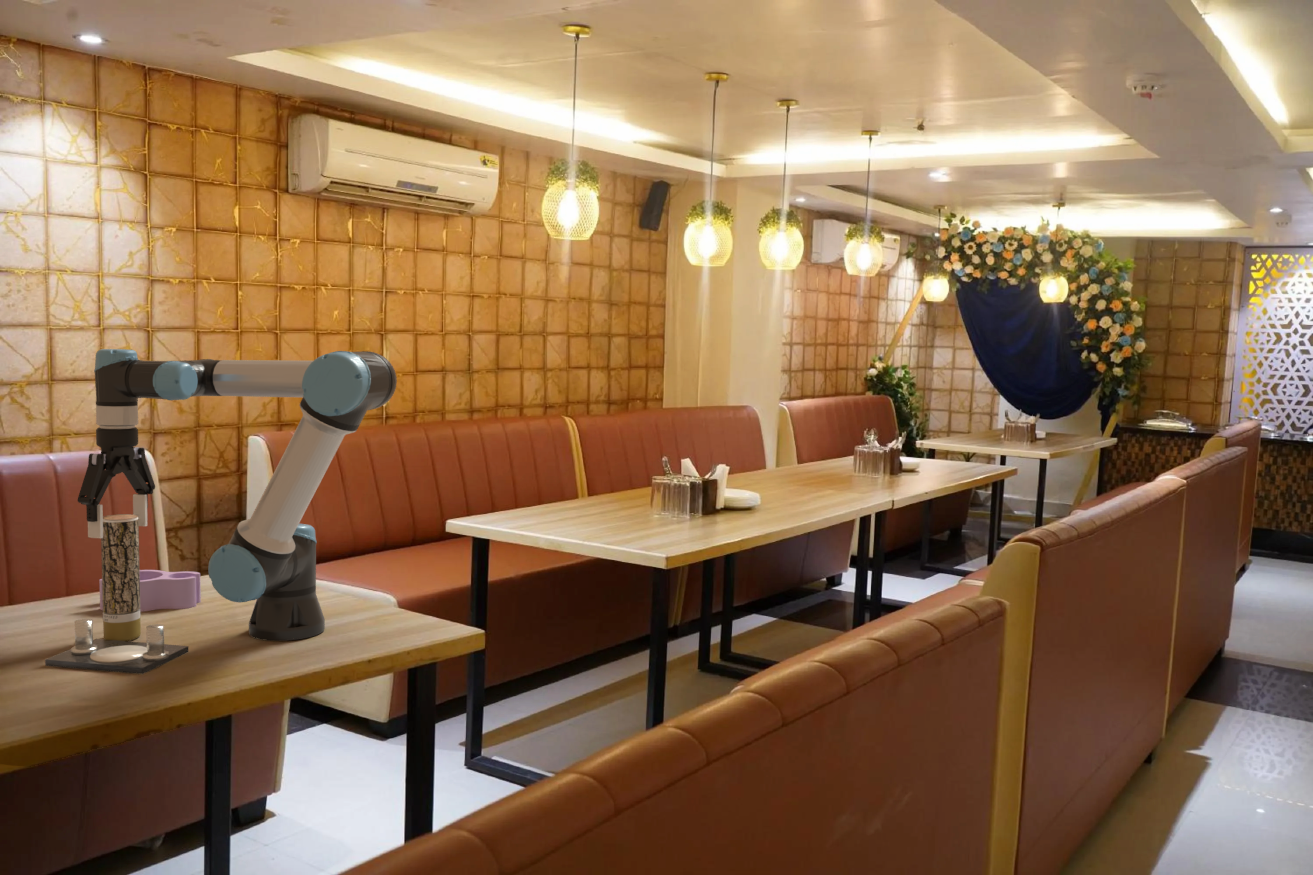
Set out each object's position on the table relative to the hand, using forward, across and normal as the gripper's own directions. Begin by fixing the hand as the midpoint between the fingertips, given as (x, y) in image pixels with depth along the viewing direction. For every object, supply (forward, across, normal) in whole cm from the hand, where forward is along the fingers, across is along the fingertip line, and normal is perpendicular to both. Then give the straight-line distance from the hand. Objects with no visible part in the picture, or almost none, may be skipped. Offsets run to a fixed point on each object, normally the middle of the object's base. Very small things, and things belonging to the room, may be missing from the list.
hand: (118, 531), depth 214 cm
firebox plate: (+22, +12, +8) cm, 26 cm away
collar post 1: (+21, +13, +2) cm, 25 cm away
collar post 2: (+21, +13, +17) cm, 30 cm away
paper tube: (+22, 0, 0) cm, 22 cm away
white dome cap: (+21, +13, +9) cm, 26 cm away
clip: (+22, -25, -10) cm, 35 cm away
